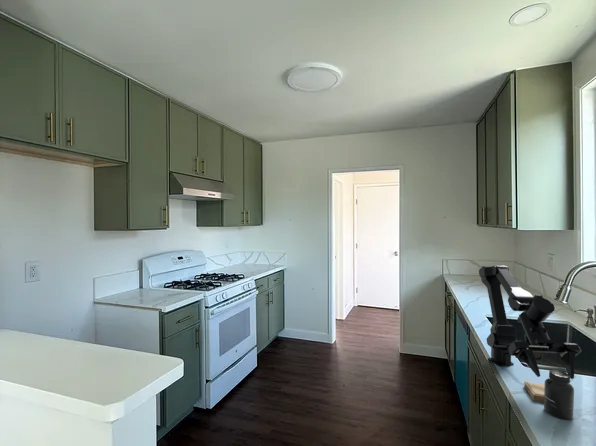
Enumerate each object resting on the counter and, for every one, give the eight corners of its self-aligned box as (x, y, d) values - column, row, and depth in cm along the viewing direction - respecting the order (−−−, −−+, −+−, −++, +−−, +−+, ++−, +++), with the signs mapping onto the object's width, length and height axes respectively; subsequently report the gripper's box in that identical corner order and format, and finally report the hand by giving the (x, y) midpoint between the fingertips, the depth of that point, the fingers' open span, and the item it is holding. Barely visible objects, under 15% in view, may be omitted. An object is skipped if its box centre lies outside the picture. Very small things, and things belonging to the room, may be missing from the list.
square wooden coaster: (524, 386, 110) (524, 380, 110) (556, 391, 108) (556, 385, 108) (533, 400, 102) (533, 394, 102) (568, 406, 99) (568, 399, 99)
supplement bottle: (541, 413, 95) (542, 372, 95) (545, 404, 100) (546, 365, 100) (572, 423, 90) (573, 381, 90) (575, 413, 95) (575, 373, 95)
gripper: (553, 341, 112) (575, 389, 101) (495, 338, 114) (511, 384, 103) (569, 325, 104) (596, 375, 93) (507, 322, 107) (526, 371, 96)
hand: (555, 377), depth 97 cm, fingers open, 9 cm apart
